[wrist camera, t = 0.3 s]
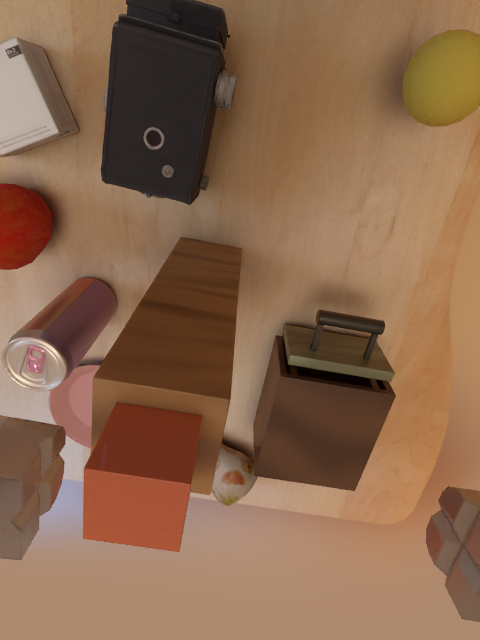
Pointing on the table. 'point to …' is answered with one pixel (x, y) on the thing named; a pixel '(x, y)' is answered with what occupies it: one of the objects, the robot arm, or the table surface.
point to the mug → (232, 476)
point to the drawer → (337, 351)
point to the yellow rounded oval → (444, 79)
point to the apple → (22, 226)
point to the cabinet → (316, 426)
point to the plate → (75, 404)
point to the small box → (30, 99)
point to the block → (141, 477)
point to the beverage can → (59, 335)
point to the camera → (164, 96)
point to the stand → (179, 349)
